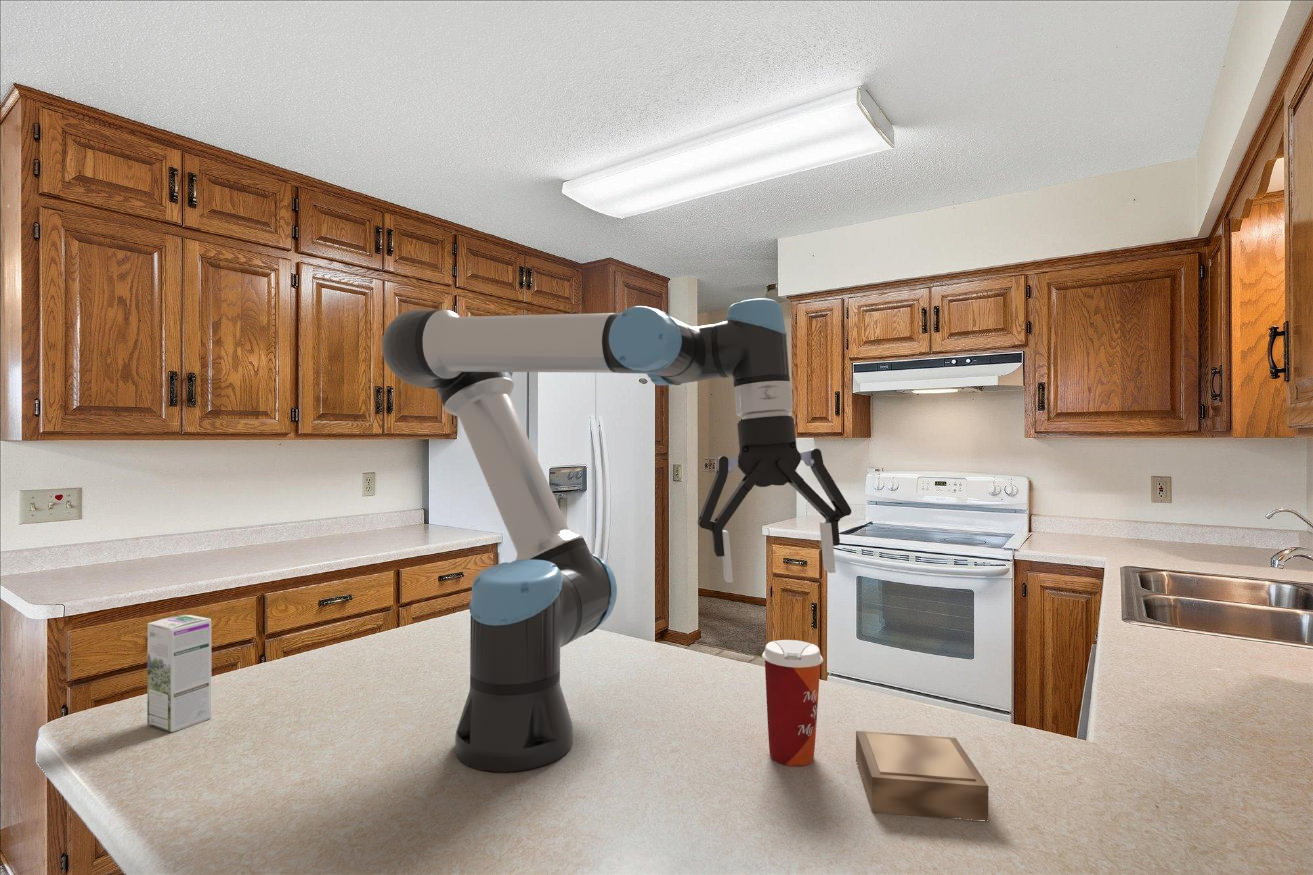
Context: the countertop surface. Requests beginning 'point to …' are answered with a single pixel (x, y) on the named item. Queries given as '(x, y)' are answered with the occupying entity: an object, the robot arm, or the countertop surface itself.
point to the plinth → (920, 776)
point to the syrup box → (178, 672)
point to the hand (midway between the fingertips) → (779, 576)
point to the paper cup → (792, 700)
